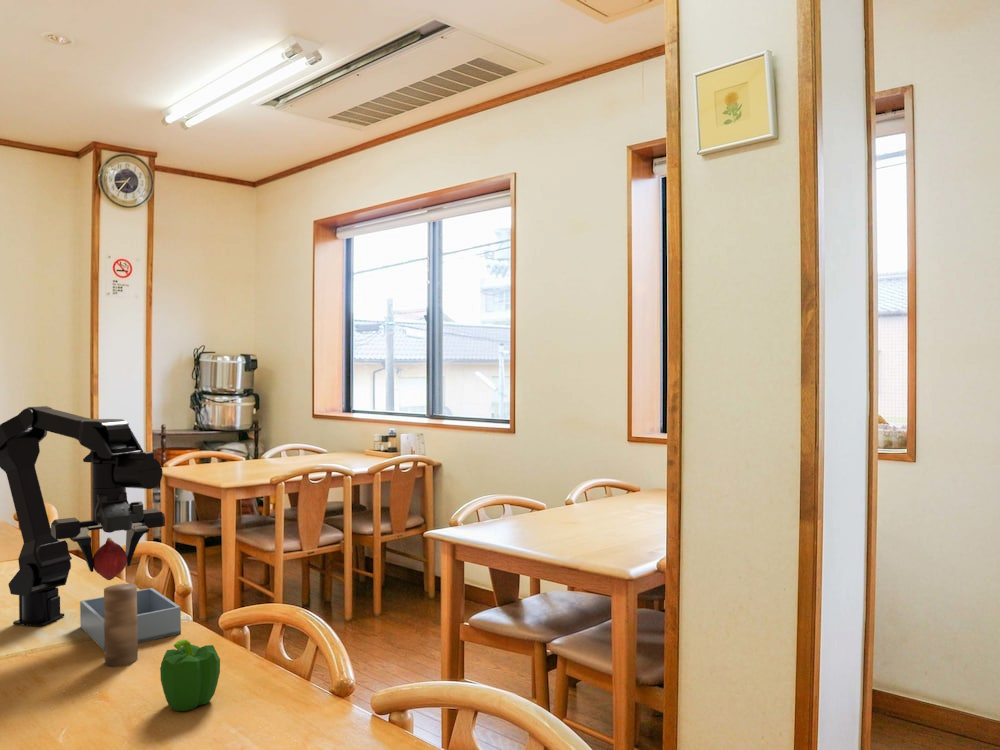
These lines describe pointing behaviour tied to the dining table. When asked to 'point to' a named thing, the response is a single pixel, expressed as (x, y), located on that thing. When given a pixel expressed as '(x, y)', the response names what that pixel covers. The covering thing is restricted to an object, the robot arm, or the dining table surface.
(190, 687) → the bell pepper
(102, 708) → the dining table surface
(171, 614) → the tote
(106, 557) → the onion
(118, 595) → the canister
